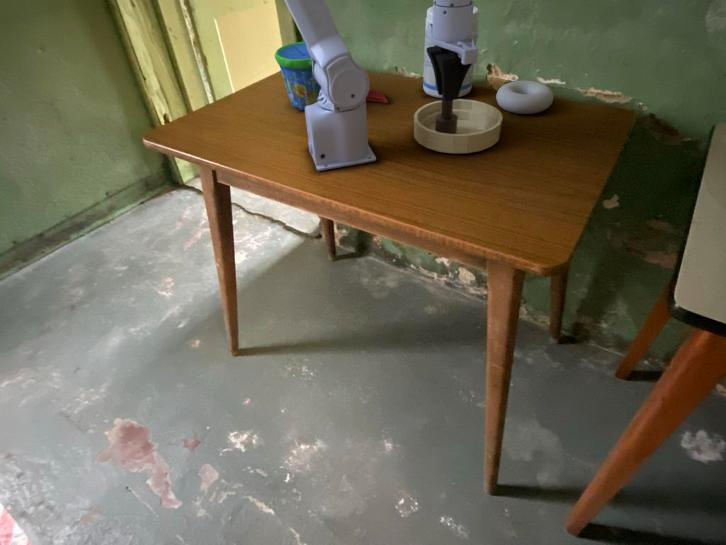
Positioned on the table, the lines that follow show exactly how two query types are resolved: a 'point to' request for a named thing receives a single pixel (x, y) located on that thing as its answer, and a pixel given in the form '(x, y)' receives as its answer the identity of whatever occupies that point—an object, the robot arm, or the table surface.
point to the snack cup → (298, 74)
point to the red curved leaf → (375, 96)
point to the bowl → (459, 127)
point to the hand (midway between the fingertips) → (447, 96)
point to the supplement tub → (429, 75)
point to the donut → (524, 97)
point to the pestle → (446, 118)
